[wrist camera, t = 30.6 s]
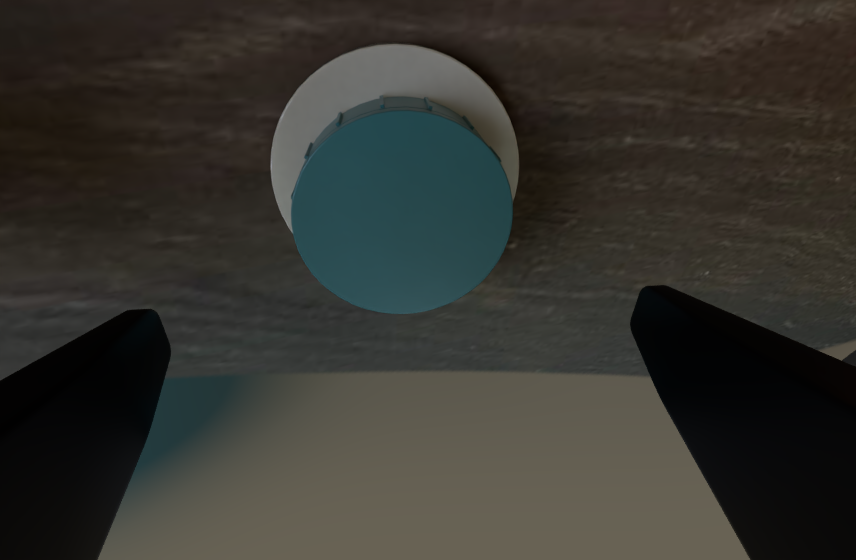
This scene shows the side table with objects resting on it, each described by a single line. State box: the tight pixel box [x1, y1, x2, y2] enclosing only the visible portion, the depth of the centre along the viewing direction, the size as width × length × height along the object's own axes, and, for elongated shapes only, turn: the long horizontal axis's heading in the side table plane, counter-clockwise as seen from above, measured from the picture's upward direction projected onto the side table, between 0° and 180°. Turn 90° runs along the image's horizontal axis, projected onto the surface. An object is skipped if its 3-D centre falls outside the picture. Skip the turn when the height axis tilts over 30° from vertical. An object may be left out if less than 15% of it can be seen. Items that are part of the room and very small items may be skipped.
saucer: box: [270, 42, 519, 233], centre depth 15 cm, size 8×8×1 cm
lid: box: [291, 95, 513, 314], centre depth 14 cm, size 7×7×2 cm
